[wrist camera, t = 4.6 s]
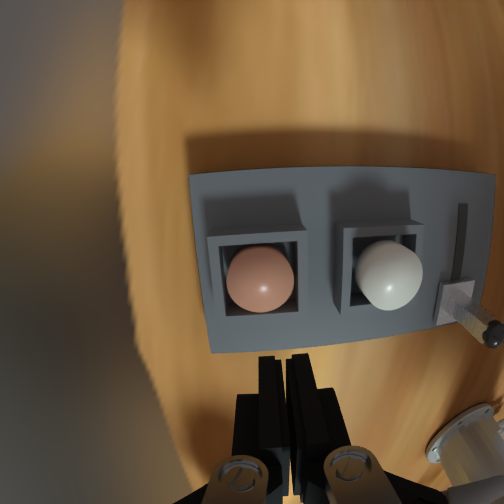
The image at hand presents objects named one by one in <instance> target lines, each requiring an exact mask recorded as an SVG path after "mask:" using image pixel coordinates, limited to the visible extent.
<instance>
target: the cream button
mask: <svg viewBox="0 0 504 504" xmlns="http://www.w3.org/2000/svg"><path fill="white" fill-rule="evenodd" d="M422 276H423V269H422V264H421V261H420V259H419V258H418V256H417V255H416V254H415V253H414V252H413V251H411V250H409V249H408V248H406V247H404V246H403V245H401V244H399V243H398V242H396V241H394V240H390V239H382V240H378V241H375V242H373V243H371V244H370V245H369V246H367V247H366V248H365V249H364V250H363V251H362V253H361V254H360V256H359V258H358V260H357V262H356V266H355V280H356V283H357V285H358V287H359V289H360V290H361V291H362V292H363V294H364V295H365V296H366V297H367V299H368V300H369V301H370V302H371V303H372V304H373V305H374V306H375V307H377V308H379V309H381V310H395V309H398V308H400V307H402V306H404V305H406V304H407V303H408V302H409V301H410V300H411V299H412V298H413V297H414V296H415V295H416V293H417V291H418V290H419V287H420V285H421V282H422Z"/></svg>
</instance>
